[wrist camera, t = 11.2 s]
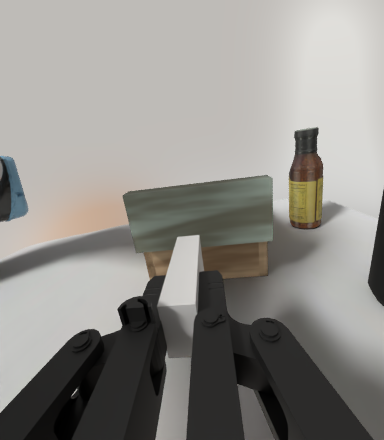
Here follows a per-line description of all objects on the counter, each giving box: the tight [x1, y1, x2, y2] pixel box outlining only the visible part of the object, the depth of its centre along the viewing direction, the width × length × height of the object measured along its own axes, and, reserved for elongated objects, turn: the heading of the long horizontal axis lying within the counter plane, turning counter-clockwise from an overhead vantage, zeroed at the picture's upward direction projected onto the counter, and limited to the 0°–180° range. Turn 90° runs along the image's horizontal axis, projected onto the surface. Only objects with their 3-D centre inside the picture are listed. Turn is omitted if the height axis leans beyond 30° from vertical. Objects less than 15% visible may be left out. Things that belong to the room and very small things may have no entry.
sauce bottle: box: [289, 127, 323, 229], centre depth 44 cm, size 7×6×20 cm
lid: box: [123, 175, 273, 253], centre depth 38 cm, size 25×18×8 cm
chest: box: [144, 242, 268, 280], centre depth 42 cm, size 22×18×10 cm
